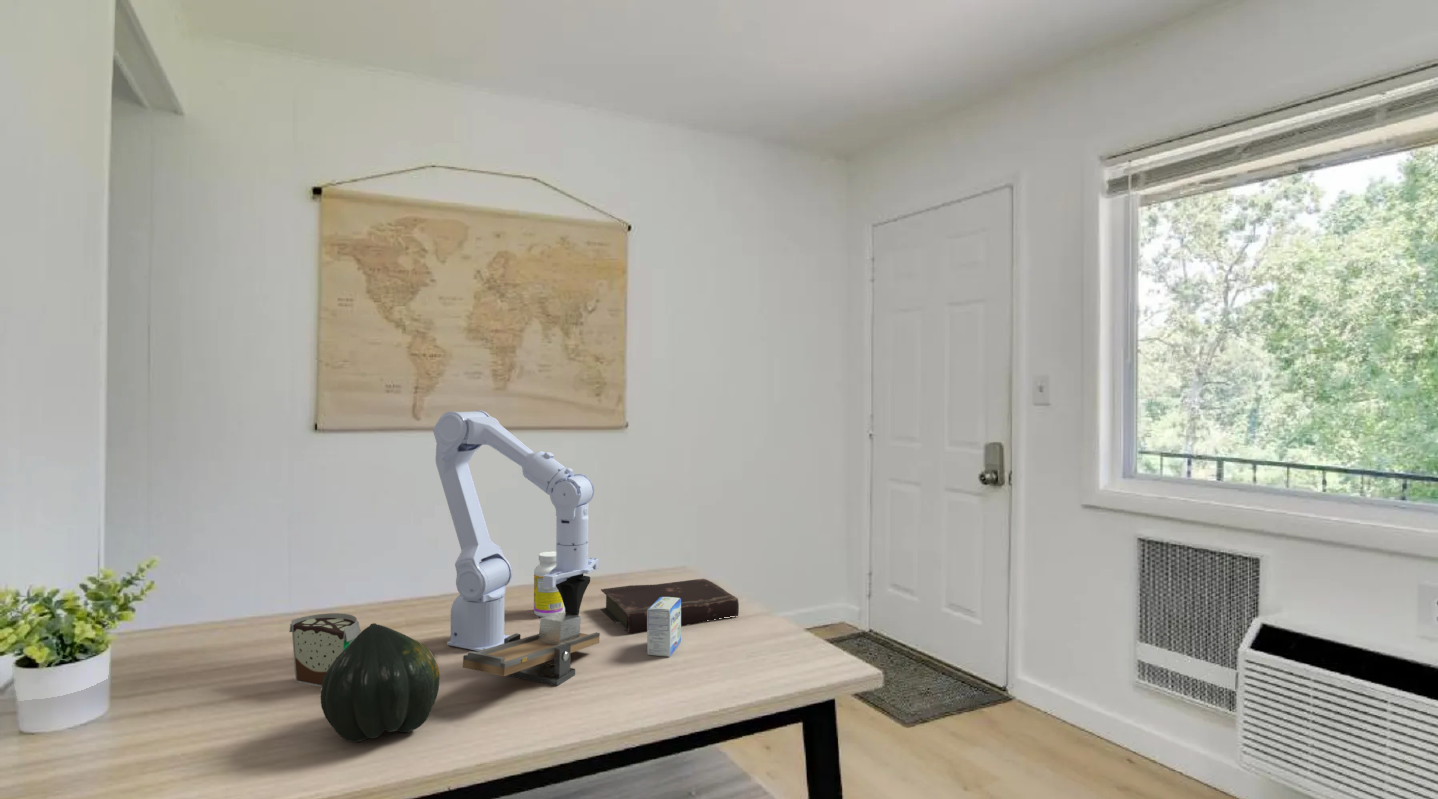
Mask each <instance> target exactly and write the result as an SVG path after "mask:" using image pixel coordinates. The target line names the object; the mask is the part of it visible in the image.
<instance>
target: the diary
mask: <svg viewBox="0 0 1438 799" xmlns="http://www.w3.org/2000/svg"><path fill="white" fill-rule="evenodd" d="M600 591H601V592H602V593H603V594H604V595H605V596H606V597H605V607H604V608H600V609H599V610H600V611H601V612H602V613H604V614H605V615H606V616H607V617H609V619H610V620H612V621H613V622H614V623H620V624H621V625H622V626H623V628H625V629H626V630H625V629H624V630H623V631H624V632H625V631H626V632H627V634H626V635H631V634H637V633H643V632H647V610H648V609H649V608H650V607H651V606H652V605H653V604H654V603H655V602H656V601H657V600H658V599H659V598H660V597H675V598H680V599H681V627H682V626H688V625H687V624H690V625H695V623H696V624H700V623H699V622H702V623H704V622H703V621H707V620H714V619H719V618H724V617H730V616H738V617H739V613H740V612H739V609H740V608H739V606H740V605H739V599H738V598H739V597H736V596H735V595H733V594H731V593H729V592H728V591H727V590H725V589H724V588H722V587H721V586H720V585H717V584H716V583H714V582H713V581H712V580H711V581H710V580H708V579H706V578H698V579H690V580H681V581H674V582H666V583H665V582H663V583H658V584H657V583H656V584H635V585H633V584H632V585H624V586H616V587H607V588H601V589H600ZM714 621H715V620H714Z"/></svg>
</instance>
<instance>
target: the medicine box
mask: <svg viewBox="0 0 1438 799" xmlns="http://www.w3.org/2000/svg"><path fill="white" fill-rule="evenodd" d="M646 634H647V635H646V638H647V640H646V642H647V645H646V647H647V655H648V656H653V657H655V656H656V657H668V658H670V657H671V656H672V654H673V653H674V652H675V651H676V648H678V647H679V645H680V643H681V640H682V626H681V599H680V598H675V597H660V598H659V599H658V600H657V601H656V602H655V603H654V604H653V605H652V606H651V607H650V608H649V609H648V610H647V631H646Z"/></svg>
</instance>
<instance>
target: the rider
mask: <svg viewBox="0 0 1438 799" xmlns="http://www.w3.org/2000/svg"><path fill="white" fill-rule="evenodd" d="M539 620H540V621H539V632H538V634H539V640H538V642H544V643H549V644H554V645H558V644H562V643H565V642H568V641H571V640H574V639H577V638H579V636H580V633H581V624H582V615H572V614H566V613H565V612H564V613H558V614H554V615H550V616H546V617H540V619H539Z"/></svg>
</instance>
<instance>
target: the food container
mask: <svg viewBox="0 0 1438 799" xmlns="http://www.w3.org/2000/svg"><path fill="white" fill-rule="evenodd" d="M288 630H289V633H292V634H291V635H292V647H293V649H292V650H293V663H294V674H295V677H294V678H295V682H296V683H299V682H301V683H300V684H305V685H309V684H310V686H316V687H320V688H322V683H323V679H324V676H325V674H326V672H327V670H328V669H329V667H330V666H331V665H332V663H333V662H334V661H335V659H336V658H337V657H338V656H339V655H340V654H341V653H342V652H343V651H344V650H345V649H346V648H347V647H348V646H349V645H350V643H351V642H352V641H353V640H354V639H355V638H356V637H357V636H358V635H359V634H360V633H361V632H362V631H361V627H360V624H359V621H358V619H357V617H356V615H353V614H349V613H341V612H340V613H338V612H337V613H336V612H334V613H333V612H332V613H320V614H312V615H306V616H301V617H298V618H294V619H292V620H291V623H290V624H289V629H288Z"/></svg>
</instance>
